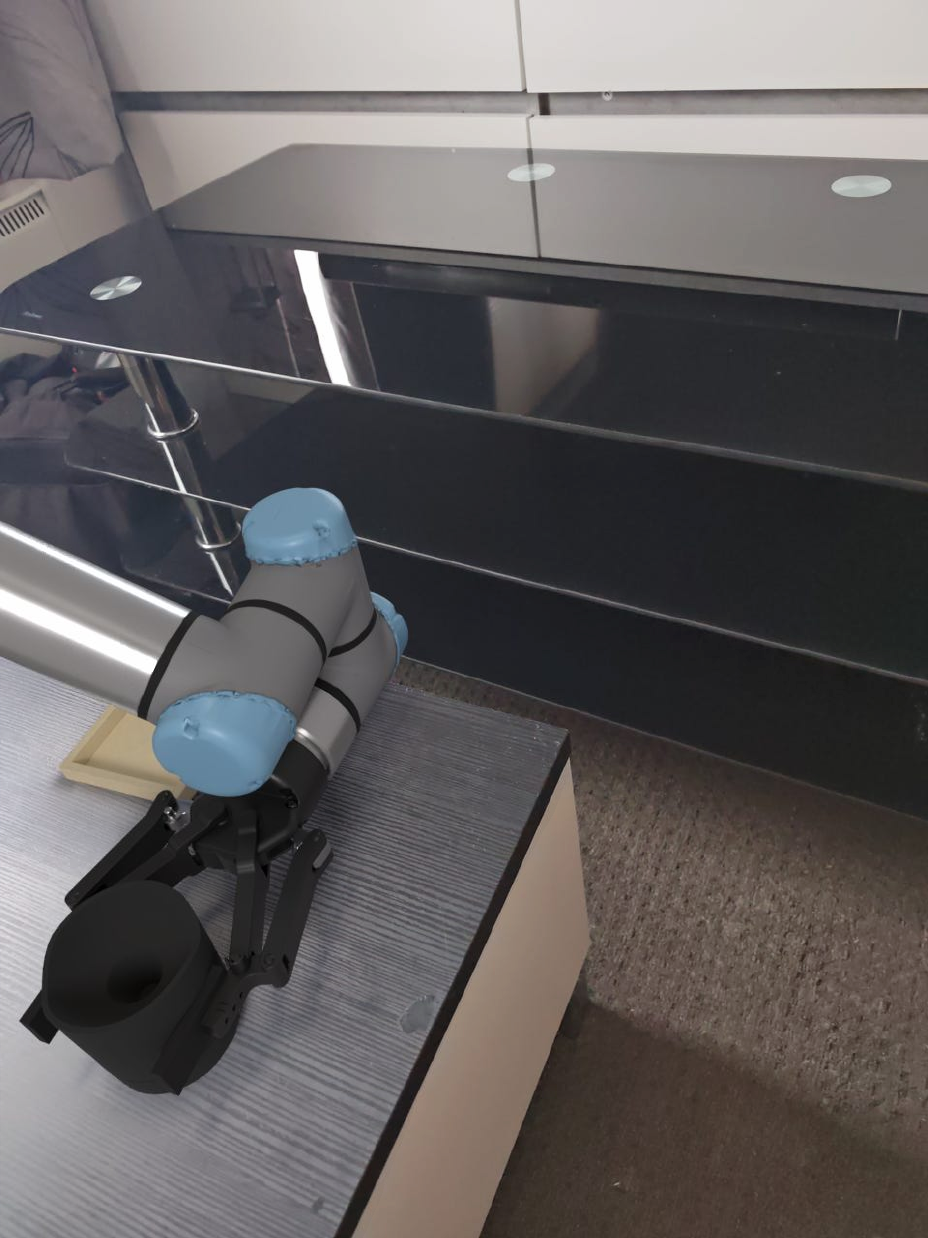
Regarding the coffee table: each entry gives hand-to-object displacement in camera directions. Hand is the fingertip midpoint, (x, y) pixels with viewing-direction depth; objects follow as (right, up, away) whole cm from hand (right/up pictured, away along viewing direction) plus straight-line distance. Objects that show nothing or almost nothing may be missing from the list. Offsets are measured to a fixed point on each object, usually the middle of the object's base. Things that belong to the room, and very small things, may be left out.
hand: (97, 1058), depth 53 cm
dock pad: (-5, +15, +28) cm, 32 cm away
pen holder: (+2, -1, +7) cm, 8 cm away
